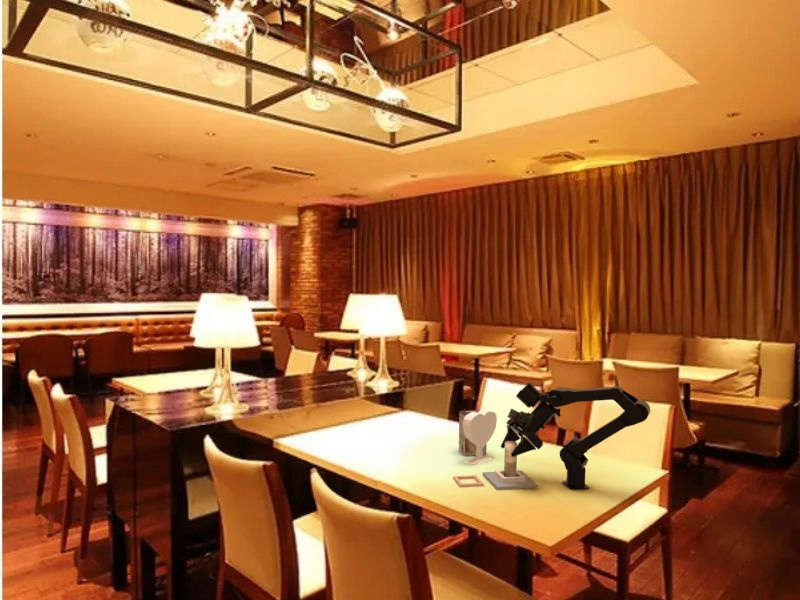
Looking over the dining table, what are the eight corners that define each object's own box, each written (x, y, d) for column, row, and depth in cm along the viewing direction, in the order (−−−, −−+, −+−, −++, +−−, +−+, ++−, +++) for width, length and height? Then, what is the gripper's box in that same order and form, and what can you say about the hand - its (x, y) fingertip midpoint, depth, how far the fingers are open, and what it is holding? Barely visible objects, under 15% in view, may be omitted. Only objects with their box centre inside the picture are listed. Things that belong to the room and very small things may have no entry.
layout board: (538, 488, 185) (538, 480, 185) (497, 490, 183) (497, 482, 183) (521, 473, 199) (521, 466, 199) (482, 475, 196) (482, 467, 196)
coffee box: (479, 450, 225) (480, 409, 225) (486, 455, 219) (487, 413, 218) (457, 451, 223) (459, 410, 222) (464, 456, 217) (465, 414, 216)
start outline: (483, 485, 186) (483, 483, 186) (460, 487, 185) (460, 484, 185) (476, 477, 194) (476, 475, 194) (453, 478, 192) (453, 476, 192)
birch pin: (518, 480, 189) (519, 444, 189) (506, 480, 188) (507, 444, 188) (513, 476, 193) (514, 440, 193) (502, 476, 192) (503, 441, 192)
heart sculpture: (486, 454, 220) (488, 407, 219) (497, 457, 216) (498, 410, 216) (460, 462, 209) (461, 413, 209) (471, 466, 206) (472, 416, 205)
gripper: (512, 395, 200) (481, 427, 198) (534, 407, 181) (500, 443, 180) (533, 417, 202) (502, 449, 200) (557, 431, 183) (523, 467, 182)
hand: (506, 451), depth 190 cm, fingers open, 9 cm apart
